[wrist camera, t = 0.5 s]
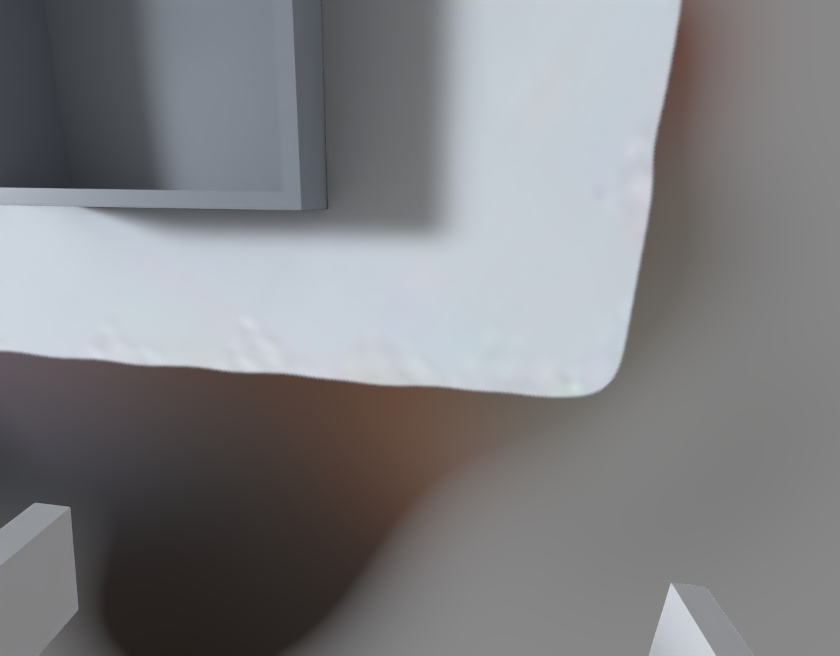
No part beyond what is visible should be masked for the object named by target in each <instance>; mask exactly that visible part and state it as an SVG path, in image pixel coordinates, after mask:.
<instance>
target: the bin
mask: <svg viewBox="0 0 840 656" xmlns="http://www.w3.org/2000/svg"><path fill="white" fill-rule="evenodd" d="M0 205H21V206H80V207H138V208H196V209H255V210H315V209H328V199H327V166H326V134H325V102H324V70H323V38H322V6H321V0H0Z"/></svg>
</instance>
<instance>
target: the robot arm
mask: <svg viewBox="0 0 840 656" xmlns="http://www.w3.org/2000/svg"><path fill="white" fill-rule="evenodd" d="M77 610H78V600H77V587H76V575H75V562H74V550H73V537H72V525H71V513H70V507H65V506H57V505H49V504H40V503H34V504H33V505H31V506H30V507H29V508H27V509H26V510H25V511H24V512H22V513H21V514H20V515H18V516H17V517H16V518H14V519H13V520H12V521H10V522H9V523H8V524H6V525H5V526H4V527H2V528H1V529H0V656H38V655H39V654H40V653H41V652H42V651H43V650H44V648H45V647H46V646H47V645H48V644H49V643H50V642H51V640H52V639H53V638H54V637H55V636H56V635H57V633H58V632H59V631H60V630H61V629H62V628H63V627H64V626H65V624H66V623H67V622H68V621H69V620H70V619H71V618H72V616H73V615H74V614H75V613H76V612H77ZM649 656H754V655H753V653H752V652H751V650H750V649H749V648H748V646H747V645H746V643H745V642H744V640H743V639H742V638H741V636H740V635H739V633H738V632H737V630H736V629H735V627H734V626H733V625H732V623H731V622H730V620H729V619H728V618H727V616H726V614H725V613H724V612H723V610H722V609H721V607H720V606H719V605H718V603H717V602H716V600H715V599H714V597H713V596H712V594H711V593H710V591H709V590H708V589H707V587H702V586H694V585H687V584H678V583H671V585H670V588H669V592H668V595H667V598H666V601H665V605H664V608H663V611H662V614H661V617H660V621H659V624H658V628H657V630H656V634H655V637H654V640H653V643H652V647H651V650H650V653H649Z"/></svg>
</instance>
